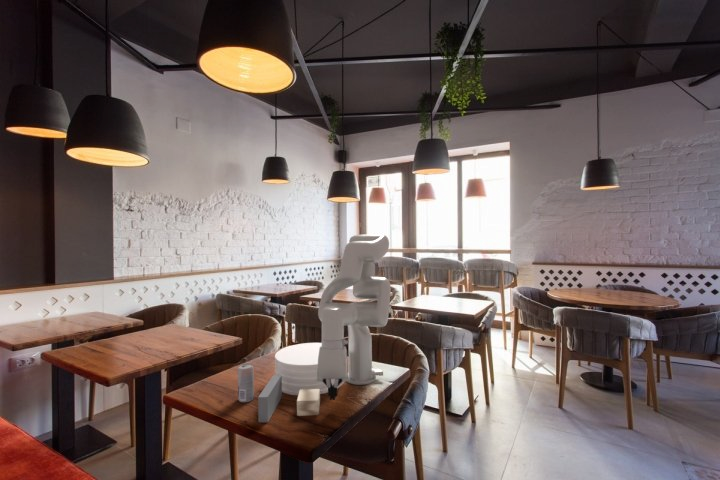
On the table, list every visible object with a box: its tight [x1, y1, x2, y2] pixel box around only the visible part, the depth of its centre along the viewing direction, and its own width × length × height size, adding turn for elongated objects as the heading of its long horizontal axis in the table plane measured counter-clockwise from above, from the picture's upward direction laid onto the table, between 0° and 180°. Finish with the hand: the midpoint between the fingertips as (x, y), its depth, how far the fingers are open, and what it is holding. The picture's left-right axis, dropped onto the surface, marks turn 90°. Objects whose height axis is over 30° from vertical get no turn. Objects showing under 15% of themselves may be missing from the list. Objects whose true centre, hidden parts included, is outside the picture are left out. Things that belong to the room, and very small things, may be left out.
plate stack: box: [274, 342, 345, 396], centre depth 144 cm, size 28×28×12 cm
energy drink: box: [237, 363, 255, 403], centre depth 128 cm, size 5×5×12 cm
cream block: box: [296, 389, 321, 417], centre depth 120 cm, size 7×9×5 cm
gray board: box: [257, 374, 283, 423], centre depth 121 cm, size 3×18×8 cm, turn 179°
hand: (332, 398), depth 119 cm, fingers closed
